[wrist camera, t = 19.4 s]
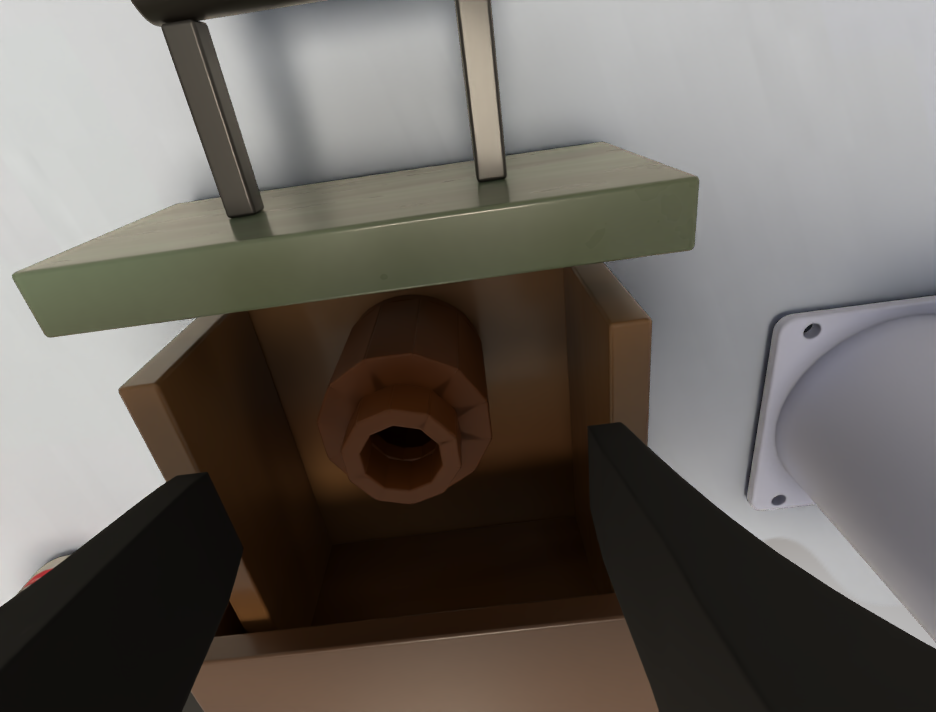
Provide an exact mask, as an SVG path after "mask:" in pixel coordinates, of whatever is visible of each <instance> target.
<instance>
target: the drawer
mask: <svg viewBox="0 0 936 712" xmlns="http://www.w3.org/2000/svg"><path fill="white" fill-rule="evenodd" d="M131 1H132V3H133V4H134V6H135V7H136V9H137V10H138V11H139V12H140V14H141V15H142V16H143V17H144V18H145V19H146V20H147V21H149V22H150V23H151V24H153V25H156V26H159V27H161V28H162V31H163V34H164V37H165V40H166V43H167V45H168V48H169V51H170V54H171V57H172V60H173V63H174V65H175V68H176V71H177V74H178V77H179V80H180V83H181V85H182V88H183V91H184V94H185V97H186V100H187V103H188V106H189V108H190V111H191V114H192V117H193V120H194V123H195V126H196V128H197V131H198V134H199V137H200V140H201V143H202V146H203V149H204V151H205V154H206V157H207V160H208V163H209V166H210V169H211V171H212V174H213V177H214V180H215V183H216V186H217V189H218V191H219V194H220V197H219V198H212V199H205V200H198V201H191V202H185V203H178V204H175V205H172V206H170V207H168V208H165V209H163V210H161V211H158V212H156V213H153V214H151V215H149V216H146V217H144V218H142V219H139V220H137V221H135V222H132V223H130V224H128V225H125V226H123V227H120V228H118V229H116V230H113V231H111V232H109V233H106V234H104V235H102V236H99V237H97V238H95V239H92V240H90V241H88V242H85V243H83V244H80V245H78V246H76V247H73V248H71V249H69V250H66V251H64V252H62V253H59V254H57V255H55V256H52V257H50V258H48V259H45V260H43V261H40V262H38V263H36V264H33V265H31V266H29V267H26V268H24V269H22V270H19V271H17V272H15V273H14V274H13V275H12V278H13V280H14V282H15V284H16V285H17V287H18V289H19V291H20V292H21V294H22V296H23V298H24V299H25V301H26V303H27V305H28V306H29V308H30V310H31V312H32V313H33V315H34V317H35V319H36V320H37V322H38V324H39V325H40V327H41V329H42V331H43V332H44V334H45V335H46V336H47V337H59V336H66V335H73V334H81V333H88V332H95V331H103V330H110V329H117V328H125V327H132V326H139V325H147V324H154V323H161V322H169V321H176V320H183V319H191V318H196V319H195V320H194V321H193V322H192V323H191V324H190V325H189V326H187V327H186V328H185V329H184V330H183V331H182V332H181V333H180V334H179V335H177V336H176V337H175V338H174V339H173V340H172V341H171V342H170V343H169V344H168V345H166V346H165V347H164V348H163V349H162V350H161V351H160V352H159V353H158V354H156V355H155V356H154V357H153V358H152V359H151V360H150V361H149V362H148V363H147V364H145V365H144V366H143V367H142V368H141V369H140V370H139V371H138V372H137V373H135V374H134V375H133V376H132V377H131V378H130V379H129V380H128V381H127V382H126V383H124V384H123V385H122V386H121V387H120V388H119V394H120V396H121V398H122V400H123V402H124V403H125V405H126V407H127V409H128V411H129V413H130V415H131V417H132V418H133V420H134V422H135V424H136V426H137V428H138V430H139V432H140V434H141V435H142V437H143V439H144V441H145V443H146V445H147V447H148V449H149V450H150V452H151V454H152V456H153V458H154V460H155V462H156V464H157V466H158V467H159V469H160V471H161V473H162V475H163V477H164V479H165V481H166V482H168V481H169V480H171V479H172V478H174V477H175V476H177V475H185V474H194V473H202V472H208V474H209V476H210V478H211V480H212V482H213V484H214V486H215V488H216V491H217V493H218V495H219V497H220V499H221V501H222V503H223V505H224V507H225V510H226V512H227V514H228V516H229V518H230V520H231V522H232V524H233V526H234V529H235V531H236V533H237V535H238V537H239V539H240V541H241V543H242V545H243V547H244V549H243V553H242V557H241V561H240V565H239V568H238V572H237V576H236V580H235V583H234V586H233V589H232V593H231V596H230V599H229V601H230V603H231V605H232V607H233V609H234V611H235V612H236V614H237V616H238V618H239V620H240V622H241V624H242V626H243V628H244V629H245V631H246V633H254V632H263V631H272V630H281V629H290V628H299V627H308V626H317V625H326V624H335V623H344V622H353V621H362V620H371V619H380V618H389V617H398V616H407V615H416V614H425V613H434V612H443V611H452V610H461V609H470V608H479V607H488V606H497V605H506V604H515V603H524V602H533V601H542V600H551V599H560V598H569V597H578V596H587V595H596V594H605V593H614V592H615V591H614V588H613V585H612V583H611V580H610V577H609V575H608V572H607V569H606V567H605V564H604V561H603V558H602V554H601V550H600V546H599V543H598V539H597V535H596V531H595V527H594V523H593V519H592V515H591V511H590V493H589V461H588V429H587V426H591V425H599V424H608V423H616V422H622V423H623V424H624V425H625V426H627V427H628V428H629V429H630V430H631V431H632V432H633V433H634V434H635V435H636V436H637V437H638V438H639V439H640V440H641V441H642V442H643V443H645V444H646V445H647V446H648V419H649V392H650V365H651V337H652V320H651V318H650V317H649V316H648V314H647V313H646V312H645V311H644V310H643V309H642V307H641V306H640V305H639V304H638V303H637V302H636V300H635V299H634V298H633V297H632V296H631V294H630V293H629V292H628V291H627V290H626V289H625V287H624V286H623V285H622V284H621V283H620V282H619V280H618V279H617V278H616V277H615V276H614V274H613V273H612V272H611V271H610V270H609V269H608V267H607V266H606V265H605V264H604V263H603V262H609V261H616V260H624V259H631V258H638V257H646V256H653V255H660V254H668V253H675V252H682V251H689V250H692V249H693V248H694V245H695V231H696V218H697V204H698V190H699V179H698V177H697V176H694V175H692V174H689V173H686V172H684V171H681V170H678V169H675V168H673V167H670V166H667V165H665V164H662V163H659V162H657V161H654V160H651V159H648V158H646V157H643V156H640V155H638V154H635V153H632V152H630V151H627V150H624V149H622V148H619V147H616V146H613V145H611V144H608V143H605V142H597V143H590V144H583V145H576V146H569V147H563V148H556V149H549V150H542V151H535V152H528V153H521V154H514V155H508V156H505V146H504V135H503V125H502V114H501V103H500V93H499V82H498V71H497V61H496V50H495V39H494V29H493V18H492V7H491V0H454V1H455V9H456V17H457V25H458V34H459V42H460V50H461V58H462V67H463V75H464V83H465V91H466V100H467V108H468V116H469V125H470V133H471V141H472V149H473V158H474V160H473V161H466V162H459V163H453V164H446V165H439V166H432V167H425V168H418V169H411V170H405V171H398V172H391V173H384V174H377V175H370V176H363V177H356V178H350V179H343V180H336V181H329V182H322V183H315V184H308V185H301V186H295V187H288V188H281V189H274V190H267V191H260V192H259V189H258V186H257V182H256V179H255V176H254V173H253V170H252V166H251V163H250V160H249V157H248V154H247V150H246V147H245V144H244V141H243V138H242V134H241V131H240V128H239V125H238V122H237V118H236V115H235V112H234V109H233V106H232V102H231V99H230V96H229V93H228V90H227V87H226V83H225V80H224V77H223V74H222V71H221V67H220V64H219V61H218V58H217V55H216V51H215V48H214V45H213V42H212V39H211V35H210V32H209V29H208V26H207V24H206V23H204V22H200V20H207V19H213V18H219V17H225V16H232V15H238V14H244V13H250V12H257V11H263V10H269V9H275V8H282V7H288V6H294V5H301V4H307V3H313V2H319V1H326V0H131ZM402 295H424V296H429V297H433V298H436V299H440V300H442V301H444V302H446V303H449V304H450V305H452V306H454V307H455V308H457V309H458V310H459V311H460V312H462V313H463V314H464V315H465V316H466V317H467V318H468V319H469V320H470V322H471V323H472V324H473V326H474V327H475V329H476V331H477V333H478V335H479V338H480V340H481V343H482V349H483V358H484V365H485V373H486V382H487V391H488V400H489V409H490V418H491V426H492V435H493V436H492V440H491V442H490V444H489V446H488V448H487V450H486V451H485V453H484V455H483V457H482V459H481V461H480V463H479V465H478V466H477V468H476V470H475V471H474V472H473V473H471V474H470V475H468V476H466V477H465V478H463V479H461V480H460V481H458V482H457V483H455V484H453V485H452V486H450V487H448V488H447V489H446V491H445V492H443V493H442V494H439V495H437V496H434V497H431V498H429V499H426V500H424V501H421V502H418V503H416V504H411V505H410V504H402V503H393V502H385V501H378V500H376V499H374V498H373V497H371V496H370V495H368V494H367V493H366V492H364V491H363V490H361V489H360V488H358V487H357V486H356V485H354V484H353V483H351V482H350V480H349V479H348V476H347V475H346V474H345V473H344V472H343V471H342V470H341V469H339V468H338V467H337V466H336V465H335V464H334V463H333V462H331V461H330V460H329V458H328V457H327V454H326V451H325V448H324V445H323V442H322V439H321V436H320V432H319V429H318V426H317V417H318V414H319V411H320V408H321V405H322V402H323V399H324V396H325V393H326V390H327V387H328V384H329V382H330V380H331V377H332V375H333V373H334V370H335V368H336V365H337V363H338V361H339V358H340V356H341V353H342V351H343V349H344V346H345V344H346V341H347V339H348V337H349V334H350V332H351V329H352V327H353V326H354V325H355V324H356V323H357V321H358V320H359V319H360V318H361V316H362V315H363V314H364V313H365V312H367V311H368V310H369V309H370V308H372V307H373V306H375V305H376V304H378V303H380V302H382V301H384V300H387V299H390V298H392V297H397V296H402Z"/></svg>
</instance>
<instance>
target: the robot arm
mask: <svg viewBox="0 0 936 712" xmlns="http://www.w3.org/2000/svg"><path fill="white" fill-rule="evenodd" d="M810 324H813V326H812V328H811V329H810V330H809V331H808V332H806V333H803V332H804V330H805V328H806V327H807V326H808V325H810ZM587 429H588V461H589V493H590V511H591V515H592V519H593V523H594V527H595V531H596V535H597V539H598V543H599V546H600V550H601V554H602V558H603V561H604V564H605V567H606V569H607V572H608V575H609V577H610V580H611V583H612V585H613V588H614V591H615V594H616V596H617V599H618V602H619V604H620V607H621V609H622V612H623V615H624V617H625V620H626V623H627V625H628V628H629V631H630V633H631V636H632V638H633V641H634V644H635V646H636V649H637V652H638V654H639V657H640V660H641V662H642V665H643V667H644V670H645V673H646V675H647V678H648V681H649V683H650V686H651V689H652V692H653V695H654V698H655V701H656V704H657V707H658V710H659V712H936V649H935V648H933V647H931V646H930V645H927V644H926V643H924V642H922V641H920V640H919V639H917V638H915V637H914V636H912V635H910V634H908V633H906V632H905V631H903V630H901V629H899V628H898V627H896V626H894V625H893V624H891V623H889V622H888V621H886V620H884V619H882V618H881V617H879V616H877V615H875V614H874V613H872V612H870V611H869V610H867V609H865V608H863V607H861V606H860V605H858V604H856V603H855V602H853V601H851V600H850V599H848V598H847V597H845V596H844V595H842V594H840V593H839V592H837V591H835V590H834V589H832V588H831V587H829V586H827V585H826V584H824V583H823V582H821V581H820V580H818V579H817V578H815V577H814V576H812V575H811V574H809V573H808V572H806V571H805V570H803V569H802V568H800V567H799V566H797V565H796V564H794V563H793V562H791V561H790V560H788V559H786V558H785V557H783V556H782V555H780V554H779V553H778V552H776V551H775V550H773V549H772V548H771V547H769V546H768V545H766V544H765V543H764V542H762V541H761V540H760V539H758V538H757V537H755V536H754V535H753V534H751V533H750V532H749V531H748V530H746V529H745V528H744V527H742V526H741V525H740V524H738V523H737V522H736V521H734V520H733V519H732V518H730V517H729V516H728V515H727V514H725V513H724V512H723V511H722V510H720V509H719V508H718V507H717V506H715V505H714V504H713V503H712V502H710V501H709V500H708V499H707V498H706V497H705V496H703V495H702V494H701V493H700V492H699V491H697V490H696V489H695V488H694V487H693V486H691V485H690V484H689V483H688V482H687V481H686V480H684V479H683V478H682V477H681V476H680V475H679V474H677V473H676V472H675V471H674V470H673V469H672V468H671V467H670V466H668V465H667V464H666V463H665V462H664V461H663V460H662V459H661V458H660V457H659V456H657V455H656V454H655V453H654V452H653V451H652V450H651V449H650V448H649V447H648V446H647V445H646V444H645V443H643V442H642V441H641V440H640V439H639V438H638V437H637V436H636V435H635V434H634V433H633V432H632V431H631V430H630V429H629V428H628V427H627V426H625V425H624V424H623V423H622V422H616V423H608V424H599V425H591V426H587ZM775 496H776V497H775ZM747 501H748V502H749V503H750V505H751V506H752V507H753V509H755V510H761V511H764V510H773V509H781V508H790V507H799V506H807V505H817V506H818V507H819V508H820V510H821V511H822V512H823V513H824V514H825V515H826V516H827V518H828V519H829V520H830V521H831V522H832V523H833V525H834V526H835V527H836V528H837V529H838V530H839V531H840V533H841V534H842V535H843V536H844V537H845V538H846V540H847V541H848V542H849V543H850V544H851V545H852V546H853V548H854V549H855V550H856V551H857V552H858V553H859V554H860V556H861V557H862V558H863V559H864V560H865V561H866V563H867V564H868V565H869V566H870V567H871V568H872V569H873V571H874V572H875V573H876V574H877V575H878V576H879V578H880V579H881V580H882V581H883V582H884V583H885V584H886V586H887V587H888V588H889V589H890V590H891V591H892V593H893V594H894V595H895V596H896V597H897V598H898V599H899V601H900V602H901V603H902V604H903V605H904V606H905V607H906V608H907V610H908V611H909V612H910V613H911V614H912V616H913V617H914V618H915V619H916V620H917V621H918V623H919V624H920V625H921V626H922V627H923V628H924V629H925V631H926V632H927V633H928V634H929V635H930V636H931V637H932V639H933V640H934V641H935V642H936V295H934V296H926V297H919V298H911V299H903V300H896V301H888V302H880V303H873V304H865V305H857V306H850V307H842V308H834V309H827V310H819V311H811V312H804V313H796V314H790V315H787V316H785V317H783V318H781V319H780V320H779V321H778V322H777V323H776V325H775V327H774V330H773V335H772V341H771V347H770V354H769V360H768V366H767V373H766V379H765V385H764V392H763V398H762V404H761V410H760V417H759V423H758V429H757V436H756V442H755V448H754V455H753V461H752V467H751V474H750V480H749V486H748V493H747ZM243 549H244V547H243V545H242V543H241V541H240V539H239V537H238V535H237V533H236V531H235V529H234V526H233V524H232V522H231V520H230V518H229V516H228V514H227V512H226V510H225V507H224V505H223V503H222V501H221V499H220V497H219V495H218V493H217V491H216V488H215V486H214V484H213V482H212V480H211V478H210V476H209V474H208V472H202V473H194V474H185V475H177V476H175V477H174V478H172V479H171V480H169V481H168V482H166V483H165V484H163V485H162V486H160V487H159V488H158V489H156V490H155V491H153V492H152V493H151V494H149V495H148V496H147V497H145V498H144V499H143V500H141V501H140V502H139V503H137V504H136V505H135V506H133V507H132V508H131V509H130V510H128V511H127V512H126V513H124V514H123V515H122V516H120V517H119V518H118V519H117V520H115V521H114V522H113V523H111V524H110V525H109V526H108V527H106V528H105V529H104V530H102V531H101V532H100V533H99V534H97V535H96V536H95V537H93V538H92V539H91V540H89V541H88V542H87V543H86V544H84V545H83V546H82V547H80V548H79V549H78V550H77V551H75V552H74V553H73V554H71V555H70V556H69V557H67V558H66V559H65V560H64V561H62V562H61V563H60V564H58V565H57V566H56V567H54V568H53V569H52V570H50V571H49V572H47V573H46V574H45V575H43V576H42V577H41V578H39V579H38V580H37V581H35V582H34V583H32V584H31V585H30V586H28V587H27V588H26V589H24V590H23V591H22V592H20V593H19V594H18V595H16V596H15V597H13V598H12V599H11V600H9V601H8V602H7V603H5V604H4V605H3V606H1V607H0V712H182V710H183V708H184V706H185V703H186V701H187V699H188V696H189V694H190V692H191V689H192V687H193V685H194V682H195V680H196V678H197V676H198V673H199V671H200V669H201V666H202V664H203V662H204V659H205V657H206V655H207V652H208V650H209V648H210V645H211V643H212V641H213V638H214V636H215V634H216V631H217V629H218V626H219V624H220V622H221V619H222V617H223V615H224V612H225V610H226V607H227V605H228V602H229V599H230V596H231V593H232V589H233V586H234V583H235V580H236V576H237V572H238V568H239V565H240V561H241V557H242V553H243Z"/></svg>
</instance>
